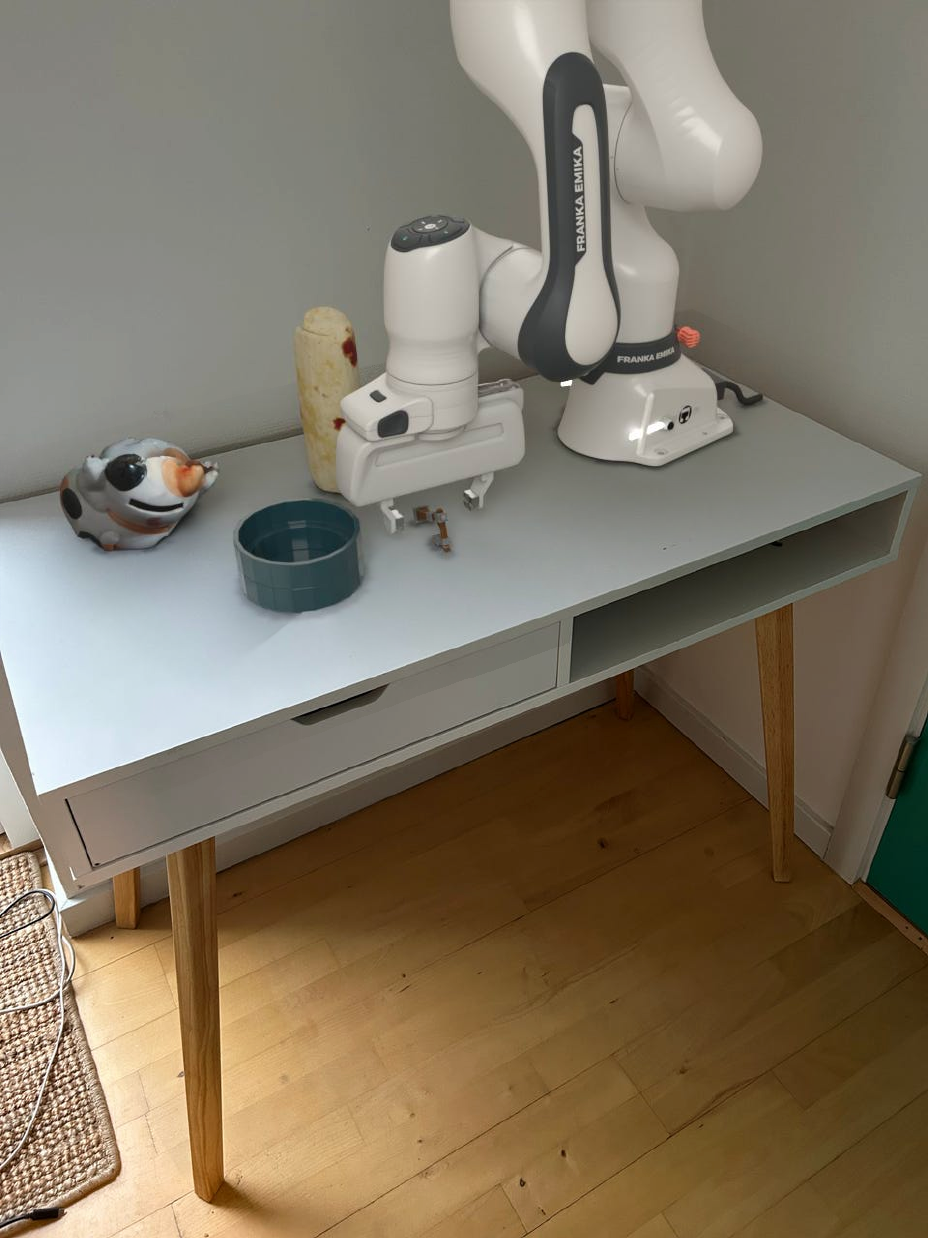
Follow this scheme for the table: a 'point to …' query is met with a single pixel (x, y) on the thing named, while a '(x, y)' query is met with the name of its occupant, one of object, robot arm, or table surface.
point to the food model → (324, 386)
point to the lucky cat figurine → (133, 492)
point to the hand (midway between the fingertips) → (434, 518)
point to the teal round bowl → (299, 554)
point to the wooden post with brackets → (439, 516)
